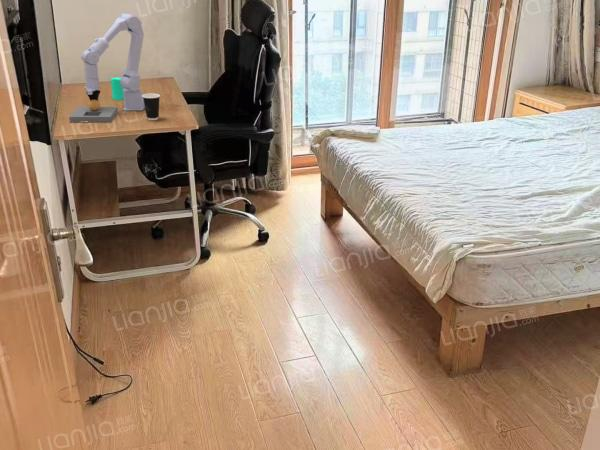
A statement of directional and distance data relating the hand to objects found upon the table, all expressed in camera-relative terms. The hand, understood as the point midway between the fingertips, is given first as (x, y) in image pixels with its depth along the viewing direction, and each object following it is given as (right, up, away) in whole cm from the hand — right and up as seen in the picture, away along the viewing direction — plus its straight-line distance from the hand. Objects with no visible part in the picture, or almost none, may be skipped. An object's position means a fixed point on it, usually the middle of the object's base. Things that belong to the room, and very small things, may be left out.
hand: (94, 106), depth 285 cm
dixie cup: (+28, -6, -2) cm, 29 cm away
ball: (+1, 0, -2) cm, 2 cm away
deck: (+1, -5, -3) cm, 6 cm away
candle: (+2, +10, +29) cm, 31 cm away
